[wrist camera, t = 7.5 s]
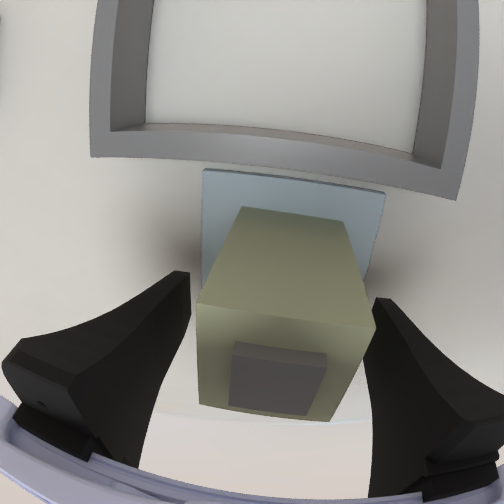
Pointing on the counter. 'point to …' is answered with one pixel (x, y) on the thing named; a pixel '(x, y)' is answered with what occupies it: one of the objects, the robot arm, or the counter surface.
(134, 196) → the counter surface
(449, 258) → the counter surface
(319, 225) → the block
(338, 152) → the case
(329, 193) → the mat
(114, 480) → the robot arm
